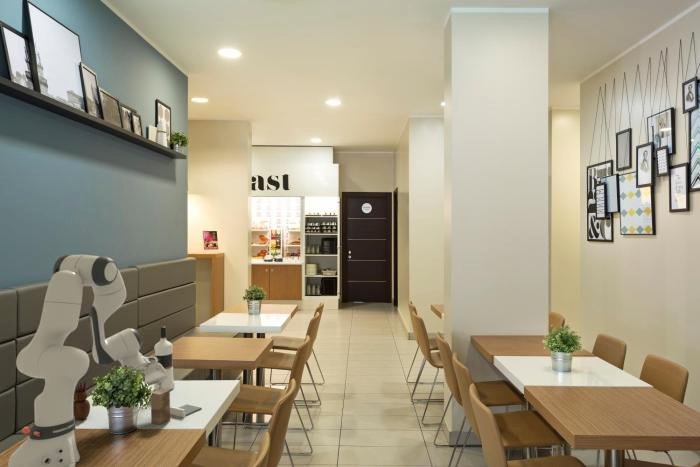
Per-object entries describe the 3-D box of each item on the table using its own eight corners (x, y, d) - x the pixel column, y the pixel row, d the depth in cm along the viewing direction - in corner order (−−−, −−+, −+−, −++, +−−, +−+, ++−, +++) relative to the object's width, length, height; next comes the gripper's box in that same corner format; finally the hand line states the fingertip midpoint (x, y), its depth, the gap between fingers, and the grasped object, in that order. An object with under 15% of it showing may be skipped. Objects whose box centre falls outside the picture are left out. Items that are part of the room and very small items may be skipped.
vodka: (172, 391, 239) (170, 328, 239) (151, 392, 238) (150, 329, 237) (176, 385, 248) (174, 324, 248) (156, 386, 247) (155, 325, 247)
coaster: (185, 416, 207) (185, 414, 207) (170, 412, 212) (170, 411, 212) (201, 409, 215) (201, 407, 215) (186, 405, 219) (186, 404, 219)
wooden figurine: (93, 416, 209) (92, 380, 209) (84, 421, 203) (83, 384, 203) (77, 415, 210) (76, 379, 209) (68, 421, 204) (67, 384, 204)
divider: (183, 417, 206) (183, 410, 206) (163, 412, 212) (163, 405, 212) (185, 416, 206) (184, 409, 206) (164, 412, 212) (164, 404, 212)
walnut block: (160, 424, 199) (159, 394, 198) (151, 422, 201) (150, 392, 201) (170, 420, 203) (169, 390, 203) (161, 418, 205) (161, 388, 205)
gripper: (117, 368, 199) (134, 397, 194) (159, 356, 216) (176, 382, 212) (110, 378, 201) (126, 407, 196) (152, 365, 219) (169, 391, 214)
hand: (152, 394), depth 204 cm, fingers open, 8 cm apart
